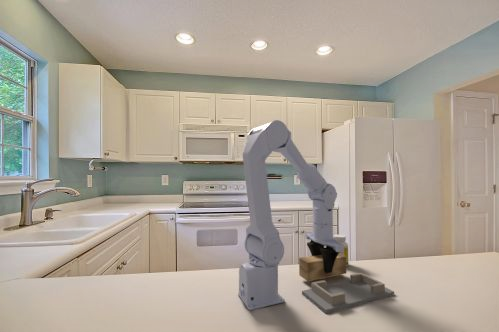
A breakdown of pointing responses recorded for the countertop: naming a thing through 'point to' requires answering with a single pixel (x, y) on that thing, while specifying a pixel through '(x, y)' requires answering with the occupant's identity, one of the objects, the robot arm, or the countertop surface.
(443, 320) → the countertop surface
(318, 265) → the oak slat
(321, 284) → the cap board
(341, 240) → the supplement bottle
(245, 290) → the robot arm
